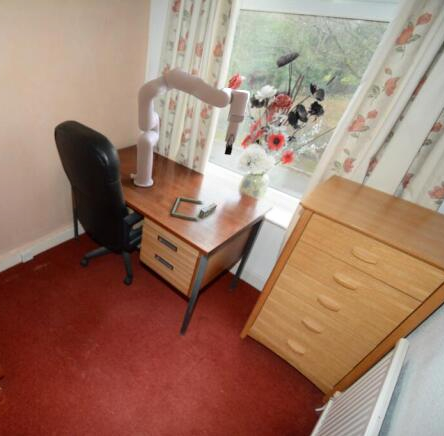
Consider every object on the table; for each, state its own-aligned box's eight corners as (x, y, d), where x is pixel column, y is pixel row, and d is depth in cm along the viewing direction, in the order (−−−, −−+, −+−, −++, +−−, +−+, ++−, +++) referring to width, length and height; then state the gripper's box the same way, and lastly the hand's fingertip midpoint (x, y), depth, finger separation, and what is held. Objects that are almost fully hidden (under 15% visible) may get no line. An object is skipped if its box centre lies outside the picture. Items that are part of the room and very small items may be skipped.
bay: (171, 215, 146) (171, 213, 145) (178, 198, 160) (178, 196, 159) (196, 221, 142) (196, 218, 141) (201, 203, 157) (201, 200, 156)
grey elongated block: (202, 218, 144) (204, 212, 142) (198, 215, 146) (200, 209, 143) (215, 210, 151) (217, 204, 148) (211, 207, 152) (213, 201, 150)
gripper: (228, 113, 142) (221, 144, 152) (227, 121, 128) (219, 156, 138) (243, 114, 140) (235, 146, 150) (243, 123, 127) (235, 158, 136)
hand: (228, 151), depth 144 cm, fingers open, 9 cm apart
